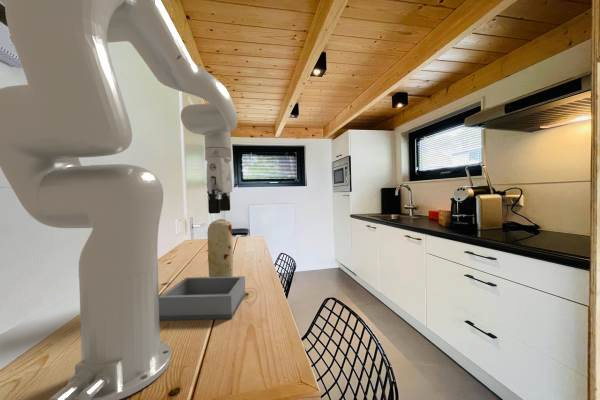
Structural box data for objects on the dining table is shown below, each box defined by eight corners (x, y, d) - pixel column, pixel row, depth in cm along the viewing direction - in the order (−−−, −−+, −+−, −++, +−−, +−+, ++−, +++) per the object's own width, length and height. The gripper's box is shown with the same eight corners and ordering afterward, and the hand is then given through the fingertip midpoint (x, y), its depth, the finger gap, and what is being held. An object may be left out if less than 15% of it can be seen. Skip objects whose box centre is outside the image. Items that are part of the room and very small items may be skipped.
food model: (239, 286, 71) (237, 219, 71) (218, 292, 66) (216, 221, 66) (224, 278, 78) (222, 218, 78) (203, 284, 73) (202, 219, 73)
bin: (231, 318, 52) (231, 295, 52) (158, 320, 52) (157, 297, 52) (245, 294, 65) (244, 276, 65) (186, 295, 65) (186, 277, 65)
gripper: (221, 150, 63) (223, 214, 64) (238, 159, 81) (239, 209, 81) (193, 150, 63) (195, 214, 64) (216, 160, 81) (217, 210, 81)
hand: (220, 211), depth 73 cm, fingers open, 9 cm apart
